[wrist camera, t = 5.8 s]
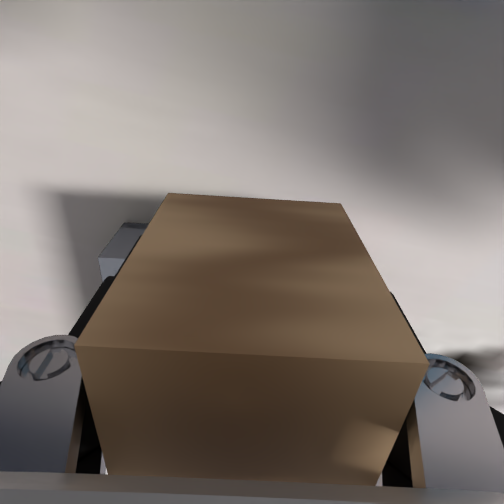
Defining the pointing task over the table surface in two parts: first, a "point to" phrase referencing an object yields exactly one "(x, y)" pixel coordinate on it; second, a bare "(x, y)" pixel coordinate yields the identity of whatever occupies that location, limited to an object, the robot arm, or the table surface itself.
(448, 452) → the robot arm
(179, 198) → the oak block
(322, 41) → the table surface
